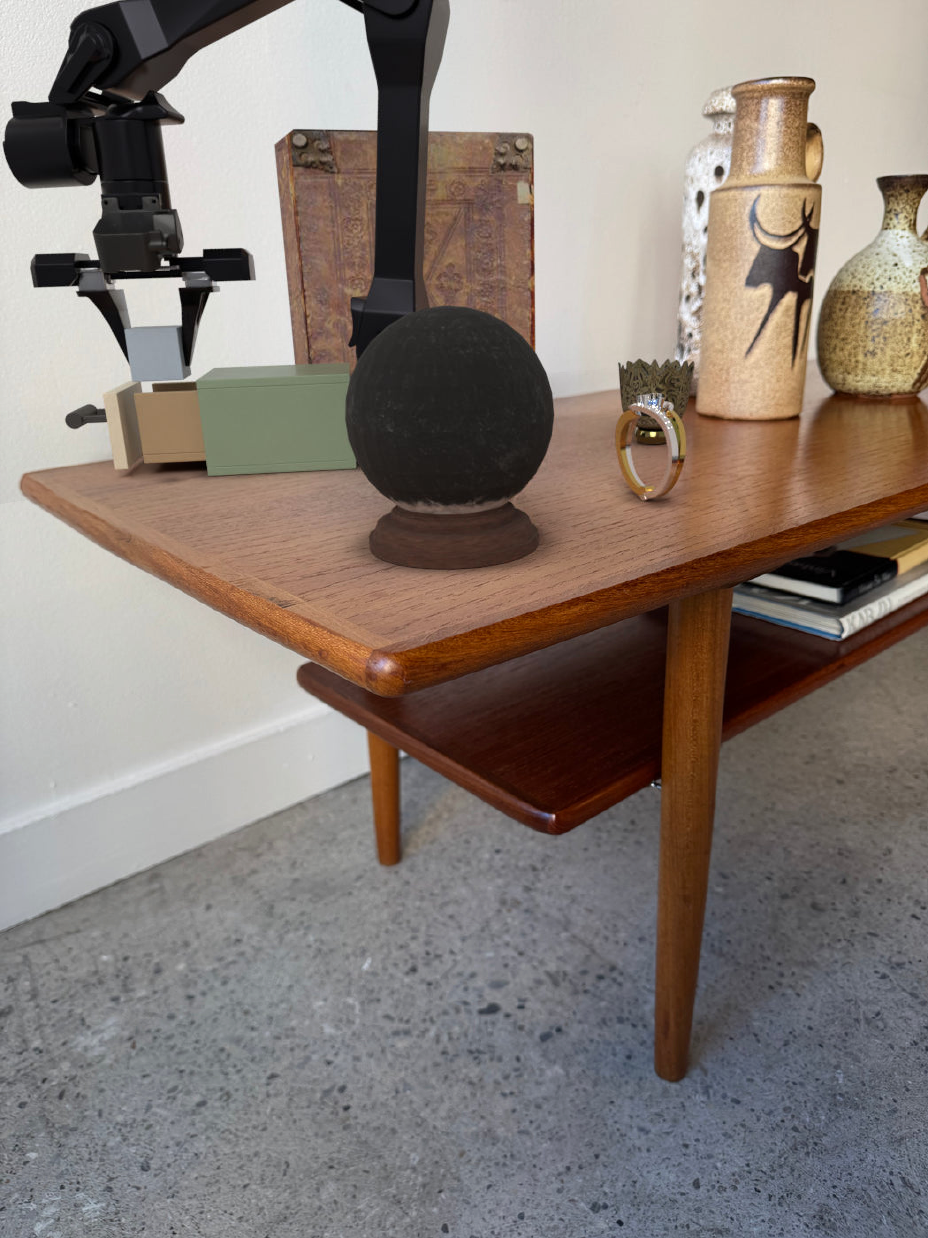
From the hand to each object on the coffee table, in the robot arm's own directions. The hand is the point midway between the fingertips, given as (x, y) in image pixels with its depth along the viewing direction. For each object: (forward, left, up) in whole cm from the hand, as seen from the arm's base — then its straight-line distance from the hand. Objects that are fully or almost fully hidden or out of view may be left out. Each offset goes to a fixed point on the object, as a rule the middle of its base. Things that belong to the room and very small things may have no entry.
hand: (161, 367), depth 86 cm
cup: (-48, 0, -10) cm, 49 cm away
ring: (-40, +24, -10) cm, 47 cm away
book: (-25, -14, -10) cm, 30 cm away
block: (0, 0, -1) cm, 1 cm away
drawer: (0, 0, -8) cm, 8 cm away
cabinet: (-11, 0, -9) cm, 14 cm away
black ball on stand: (-24, +33, -10) cm, 42 cm away
